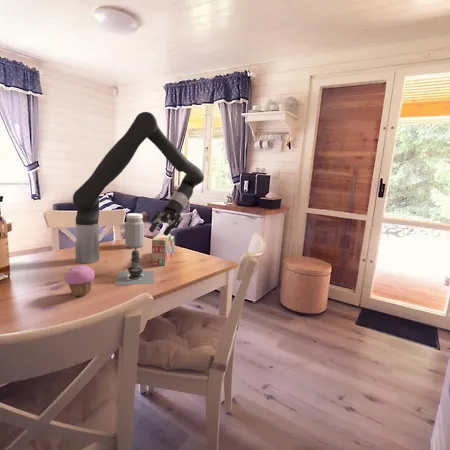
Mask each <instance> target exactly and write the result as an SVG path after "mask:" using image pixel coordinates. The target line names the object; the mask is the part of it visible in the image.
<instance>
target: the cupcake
mask: <svg viewBox="0 0 450 450" xmlns="http://www.w3.org/2000/svg"><path fill="white" fill-rule="evenodd" d="M95 277H96V274H95V270H94V269H93V268H91V267H90V266H89V265H87V264H81V265H76V266H73V267H71V268H70V269H68V270H67V272H66V273H65V276H64V278H65V279H64V280H65V283H66V284H68V287H69V290H70V292H71V294H72V295H73V297H77V296H82V297H84V296H86V295H88V294H89V293H90V291H91V290H92V289H91V288H92V281H93V280H94V279H95Z"/></svg>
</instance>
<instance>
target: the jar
mask: <svg viewBox="0 0 450 450" xmlns="http://www.w3.org/2000/svg"><path fill="white" fill-rule="evenodd" d="M125 216H126V221H125V222H124V230H125V231H124V238H125V239H124V242H125V244H124V245H125V246H126V248H129V249H135V248H136V249H140V248H142V247H143V246H144V244H145V236H144V235H145V233H144V232H145V227H144V226H145V223H144V221H143V218H144V217H143V213H139V212H138V213H137V212H135V213H134V212H133V213H132V212H130V213H127V214H126V215H125Z"/></svg>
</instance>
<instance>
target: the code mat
mask: <svg viewBox="0 0 450 450" xmlns="http://www.w3.org/2000/svg"><path fill="white" fill-rule="evenodd" d="M130 275H131V274H130V273H129V271H119V272H118V275H117V277H116V281H115V283H114V285H115V286H123V285H125V286H126V285H147V284H152V285H153V284H155V281H154V280H155V279H154V277H155V276H154V275H155V273H154V270H142V273H141V274H140V275H142V278H140V279H135V280H134V279H129V276H130Z"/></svg>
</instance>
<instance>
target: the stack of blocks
mask: <svg viewBox="0 0 450 450" xmlns="http://www.w3.org/2000/svg"><path fill="white" fill-rule="evenodd" d="M174 253H175V235H172V234H171V233H169V234H168V235H167V236H165V235H164V234H163V233H157V235H155V237H154V238H152V239H151V266H164V267H165V266H166V265H167V264H168V262H169V261H170V260H171V258H172V256H173V255H174Z"/></svg>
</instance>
